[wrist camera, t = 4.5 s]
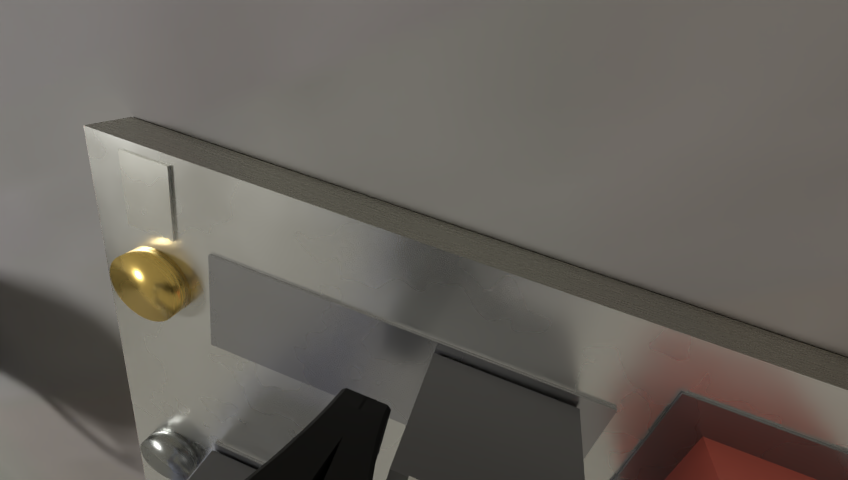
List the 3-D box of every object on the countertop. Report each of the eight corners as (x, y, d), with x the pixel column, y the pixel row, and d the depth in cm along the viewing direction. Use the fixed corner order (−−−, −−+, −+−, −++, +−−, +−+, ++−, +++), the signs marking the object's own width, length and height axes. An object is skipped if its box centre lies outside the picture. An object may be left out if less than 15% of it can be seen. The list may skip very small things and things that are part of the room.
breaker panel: (638, 678, 18) (648, 750, 16) (171, 461, 21) (136, 500, 20) (1008, 412, 9) (1117, 501, 8) (131, 116, 13) (60, 129, 11)
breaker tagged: (537, 476, 12) (531, 627, 9) (410, 424, 13) (363, 550, 10) (580, 407, 11) (592, 560, 7) (434, 351, 11) (388, 472, 8)
